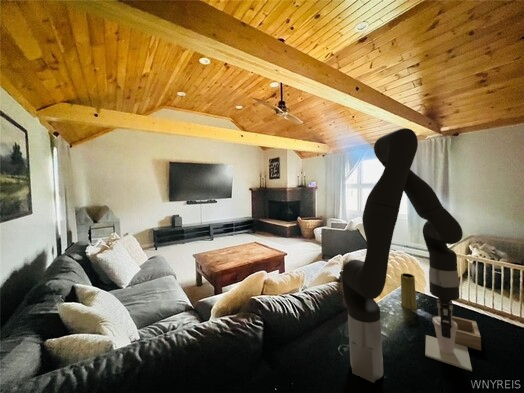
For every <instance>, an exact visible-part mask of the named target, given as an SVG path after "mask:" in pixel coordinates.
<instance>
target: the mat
mask: <svg viewBox="0 0 524 393" xmlns="http://www.w3.org/2000/svg"><path fill="white" fill-rule="evenodd" d="M468 350H469V349H468V347H467V346H463V345H459V344H456V343H455V346H454V353H453V354H452V355H449V354H445V353H443V352H442V351H440V349H439V346H438V341H437V337H434V336H431V335H427V334H425V352H424V353H425V355H424V356H425V357H427V358H430V359H433V360H436V361H439V362H443V363H444V364H448V365H452V366H454V367H457V368H460V369H463V370H466V371H470V372H473V367H472V364H471V363H472V362H471V359H470V358H471V357H470V354H469V351H468Z"/></svg>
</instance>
